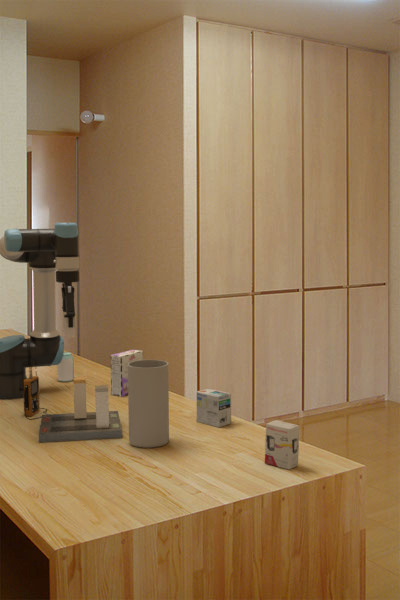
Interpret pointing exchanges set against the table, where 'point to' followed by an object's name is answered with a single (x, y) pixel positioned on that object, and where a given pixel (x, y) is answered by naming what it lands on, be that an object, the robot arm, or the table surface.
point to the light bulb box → (214, 407)
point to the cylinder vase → (148, 403)
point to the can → (66, 368)
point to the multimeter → (31, 394)
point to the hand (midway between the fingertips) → (69, 334)
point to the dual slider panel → (83, 423)
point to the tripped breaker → (79, 397)
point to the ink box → (282, 444)
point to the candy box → (122, 370)
